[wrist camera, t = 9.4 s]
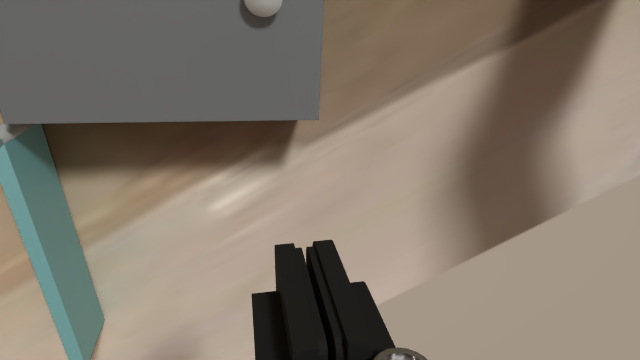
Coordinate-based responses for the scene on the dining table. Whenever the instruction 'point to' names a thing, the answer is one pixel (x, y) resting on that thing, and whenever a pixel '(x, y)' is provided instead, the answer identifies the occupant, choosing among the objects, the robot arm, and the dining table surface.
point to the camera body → (159, 60)
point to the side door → (50, 236)
